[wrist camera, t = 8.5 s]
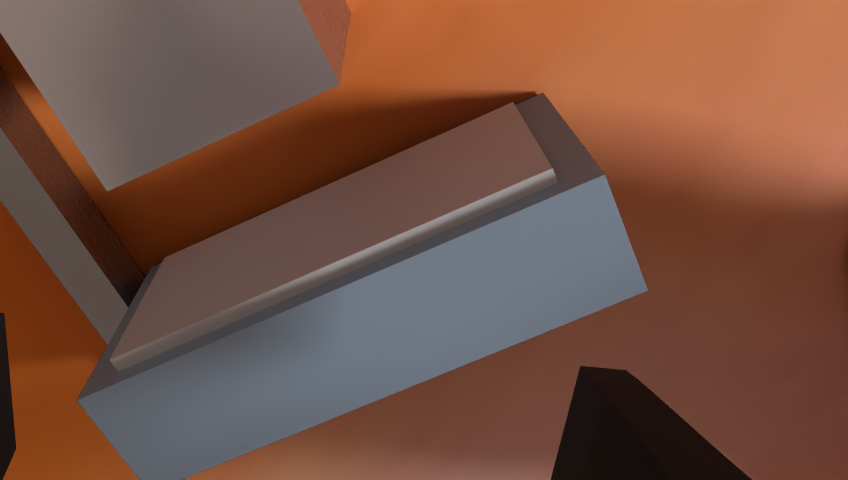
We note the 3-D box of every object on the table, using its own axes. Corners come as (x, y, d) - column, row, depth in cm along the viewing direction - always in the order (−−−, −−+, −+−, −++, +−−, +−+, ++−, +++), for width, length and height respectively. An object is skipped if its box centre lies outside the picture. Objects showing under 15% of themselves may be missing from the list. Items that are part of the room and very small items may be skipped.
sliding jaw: (578, 183, 20) (648, 290, 15) (203, 344, 21) (149, 492, 16) (538, 81, 18) (599, 159, 13) (144, 257, 20) (67, 388, 15)
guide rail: (230, 402, 22) (221, 438, 20) (198, 416, 22) (187, 452, 21) (-228, -265, 15) (-288, -278, 14) (-272, -240, 15) (-335, -251, 14)
